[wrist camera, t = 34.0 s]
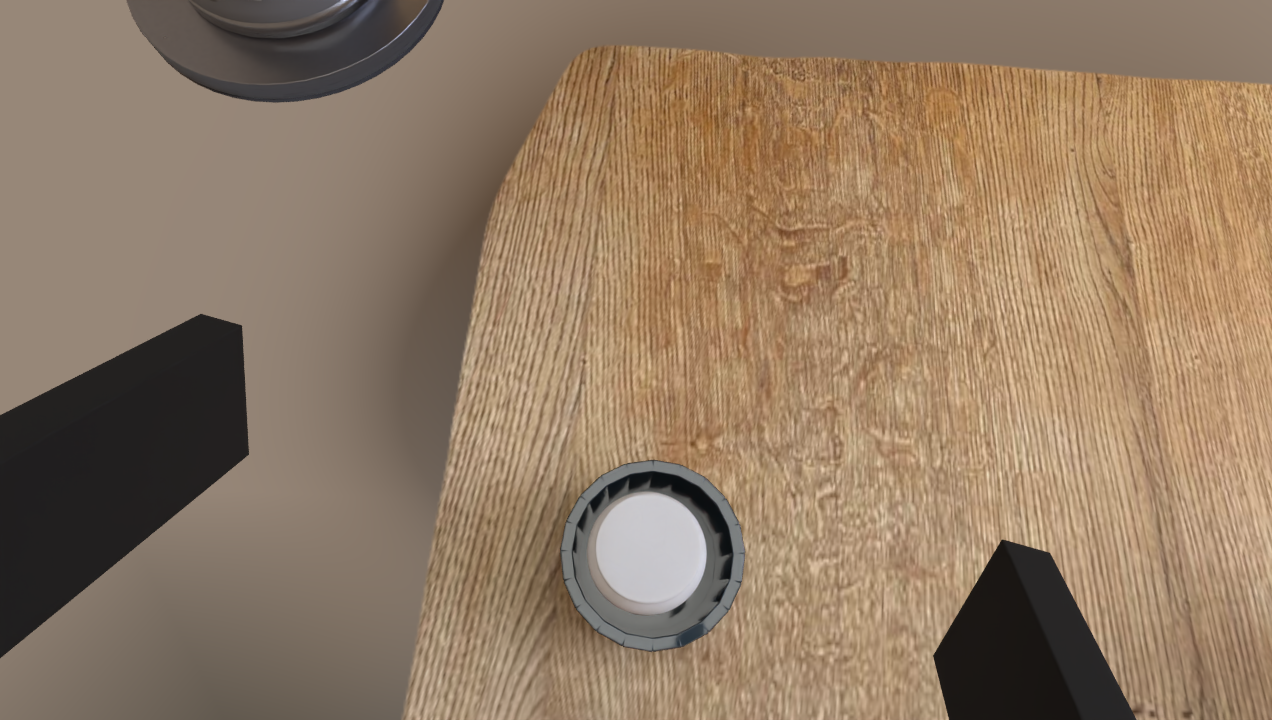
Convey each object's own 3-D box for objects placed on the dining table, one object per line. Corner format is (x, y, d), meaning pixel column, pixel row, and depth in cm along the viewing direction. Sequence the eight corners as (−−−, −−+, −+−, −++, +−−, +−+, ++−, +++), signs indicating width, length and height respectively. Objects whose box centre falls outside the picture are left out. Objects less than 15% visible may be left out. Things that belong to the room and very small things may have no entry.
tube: (562, 492, 41) (551, 473, 35) (709, 471, 42) (726, 449, 35) (580, 652, 39) (572, 664, 32) (736, 627, 39) (760, 634, 33)
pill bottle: (704, 523, 40) (730, 502, 31) (679, 624, 39) (698, 635, 29) (608, 495, 41) (605, 466, 31) (579, 594, 39) (566, 596, 30)
